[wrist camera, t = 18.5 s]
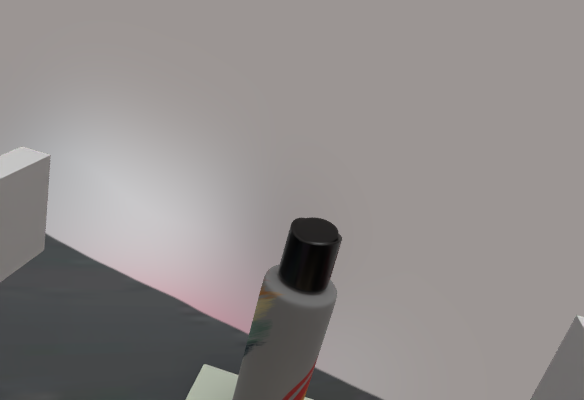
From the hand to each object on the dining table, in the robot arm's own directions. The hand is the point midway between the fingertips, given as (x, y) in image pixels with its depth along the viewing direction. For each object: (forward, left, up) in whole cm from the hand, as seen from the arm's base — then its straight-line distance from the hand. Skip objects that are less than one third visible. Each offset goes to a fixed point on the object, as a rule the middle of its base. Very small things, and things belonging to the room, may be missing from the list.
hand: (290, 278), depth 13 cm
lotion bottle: (0, +24, -30) cm, 38 cm away
